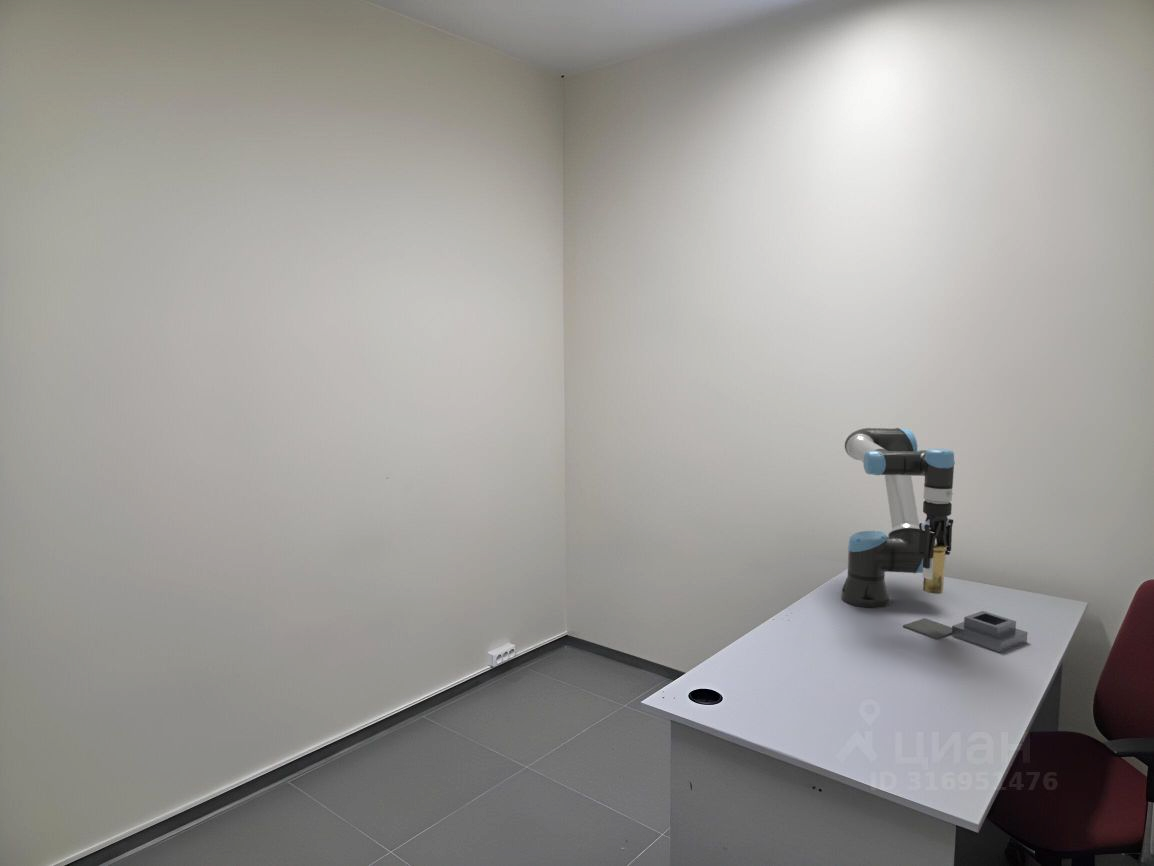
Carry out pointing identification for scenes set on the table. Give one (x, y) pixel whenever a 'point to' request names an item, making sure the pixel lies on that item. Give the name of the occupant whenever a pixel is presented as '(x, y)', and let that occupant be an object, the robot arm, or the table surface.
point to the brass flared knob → (936, 571)
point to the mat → (929, 628)
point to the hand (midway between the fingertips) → (933, 576)
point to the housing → (990, 631)
